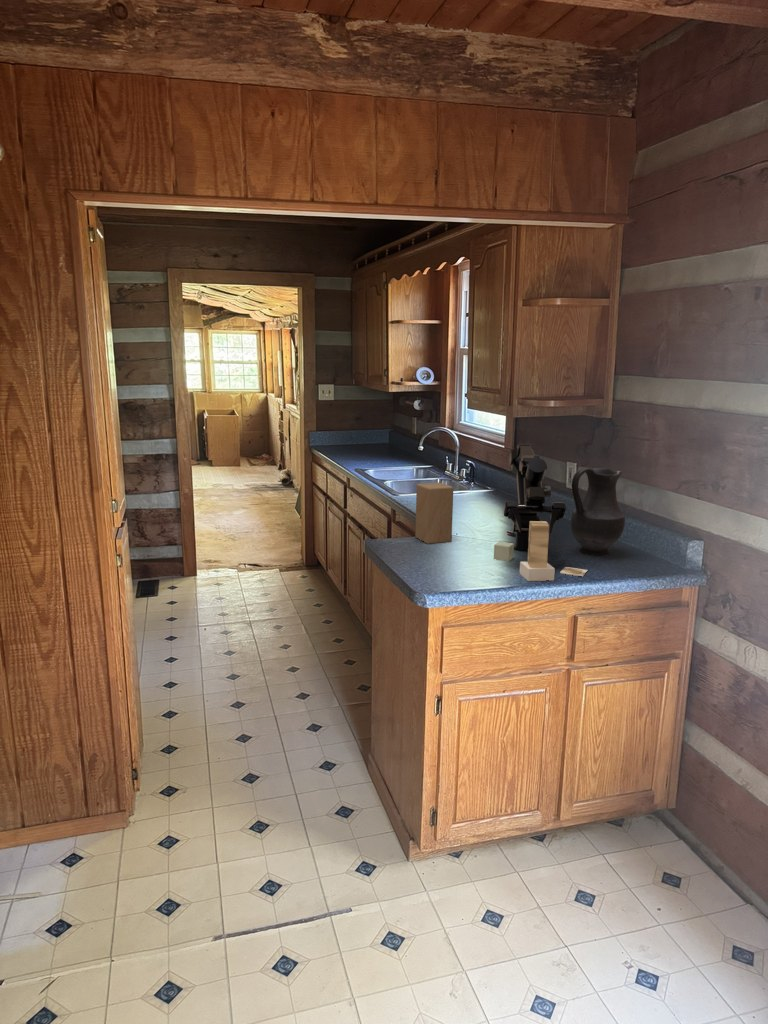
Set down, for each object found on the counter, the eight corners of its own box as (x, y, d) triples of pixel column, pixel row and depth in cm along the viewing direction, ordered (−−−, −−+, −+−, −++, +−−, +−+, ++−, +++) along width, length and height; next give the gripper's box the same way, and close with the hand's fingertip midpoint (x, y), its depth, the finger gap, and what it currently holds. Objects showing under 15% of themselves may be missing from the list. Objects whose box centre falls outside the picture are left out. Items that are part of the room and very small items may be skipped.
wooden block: (414, 537, 261) (416, 483, 257) (439, 535, 265) (440, 482, 261) (427, 544, 253) (428, 488, 248) (452, 541, 256) (454, 486, 252)
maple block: (527, 562, 219) (529, 521, 216) (544, 562, 218) (546, 521, 215) (529, 567, 214) (532, 525, 211) (546, 567, 213) (549, 525, 211)
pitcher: (632, 556, 241) (640, 467, 235) (587, 564, 231) (594, 472, 225) (594, 544, 256) (600, 461, 249) (550, 551, 246) (555, 464, 239)
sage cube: (498, 556, 239) (499, 541, 238) (513, 558, 237) (513, 543, 236) (493, 559, 235) (494, 544, 234) (508, 561, 233) (509, 546, 232)
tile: (565, 567, 226) (565, 566, 226) (587, 571, 223) (587, 569, 223) (559, 573, 220) (559, 571, 220) (582, 577, 217) (582, 575, 217)
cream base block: (519, 574, 220) (520, 561, 220) (544, 573, 222) (545, 561, 221) (528, 582, 213) (528, 569, 212) (553, 581, 214) (554, 568, 213)
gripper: (506, 475, 224) (507, 517, 216) (566, 477, 223) (570, 519, 214) (503, 495, 233) (504, 536, 225) (561, 496, 232) (564, 538, 224)
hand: (535, 532), depth 222 cm, fingers open, 9 cm apart
